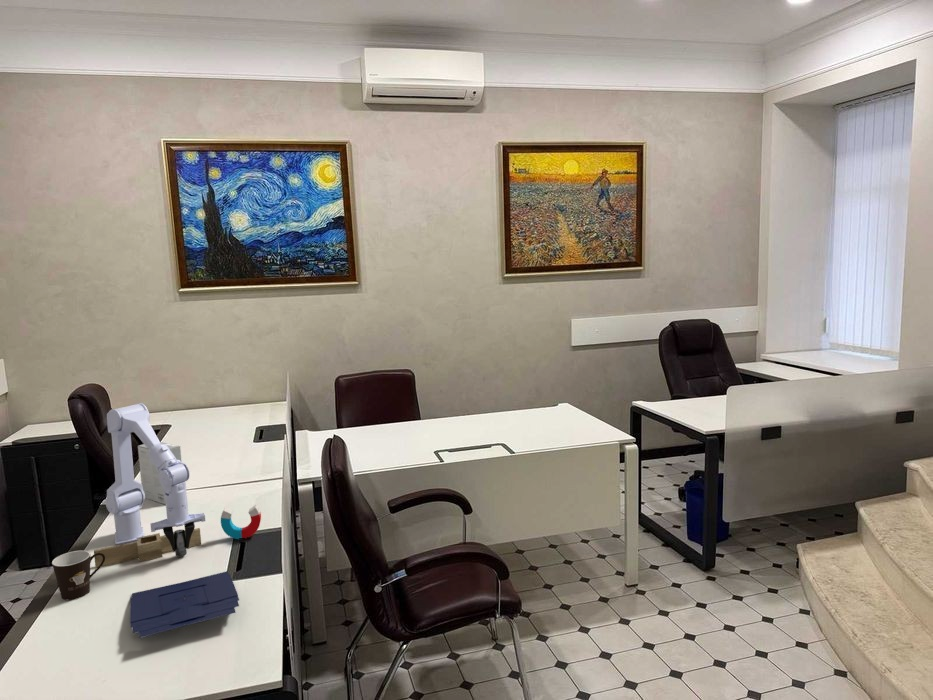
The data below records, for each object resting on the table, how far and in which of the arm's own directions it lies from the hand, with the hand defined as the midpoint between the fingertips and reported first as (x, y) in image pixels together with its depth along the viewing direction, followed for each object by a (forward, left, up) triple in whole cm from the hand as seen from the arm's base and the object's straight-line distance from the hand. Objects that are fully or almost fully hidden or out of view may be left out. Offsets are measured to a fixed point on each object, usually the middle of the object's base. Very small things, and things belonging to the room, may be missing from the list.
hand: (180, 548), depth 187 cm
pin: (0, 0, -2) cm, 2 cm away
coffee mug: (+8, -25, -3) cm, 26 cm away
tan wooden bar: (-6, -8, -3) cm, 10 cm away
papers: (+31, -2, -3) cm, 31 cm away
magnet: (-4, +18, -3) cm, 19 cm away
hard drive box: (-54, -1, -3) cm, 54 cm away
